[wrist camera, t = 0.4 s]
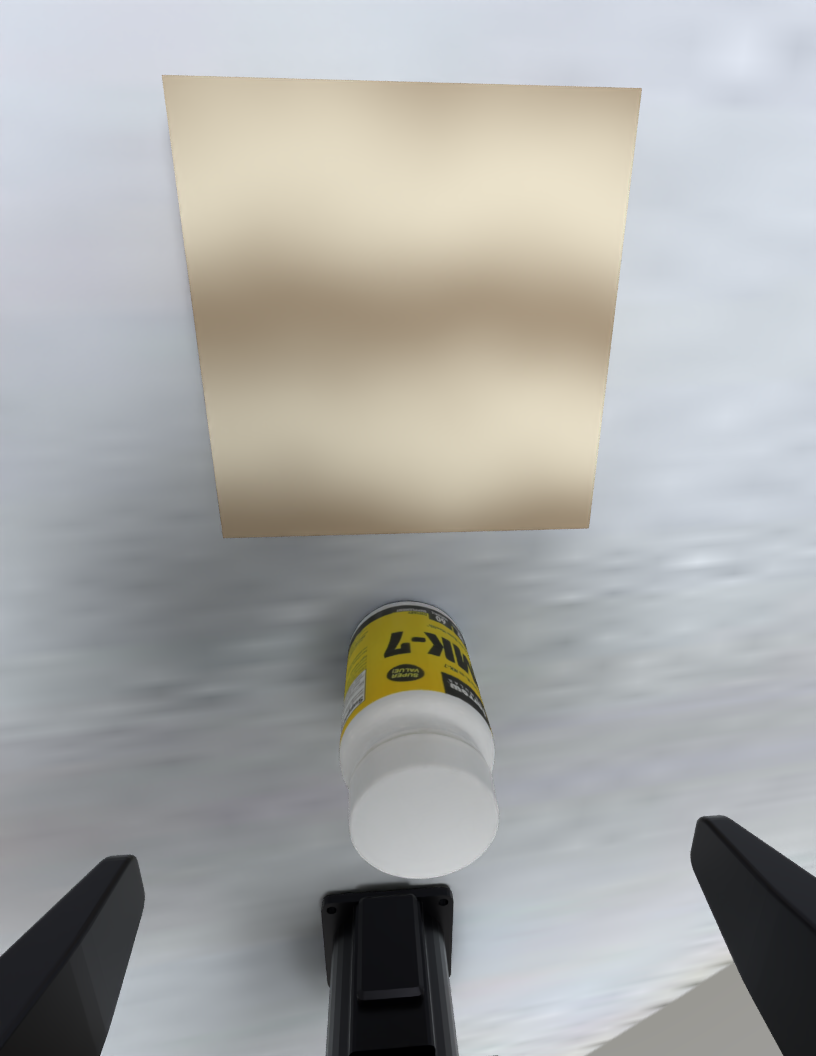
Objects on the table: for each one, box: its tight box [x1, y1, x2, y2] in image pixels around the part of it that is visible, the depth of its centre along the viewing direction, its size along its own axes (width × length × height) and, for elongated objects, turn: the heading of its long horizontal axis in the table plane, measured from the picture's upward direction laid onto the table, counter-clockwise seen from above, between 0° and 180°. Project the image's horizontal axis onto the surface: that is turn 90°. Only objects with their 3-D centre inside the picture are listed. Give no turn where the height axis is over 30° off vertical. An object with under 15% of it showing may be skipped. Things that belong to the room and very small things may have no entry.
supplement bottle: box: [339, 601, 499, 879], centre depth 17 cm, size 5×5×8 cm
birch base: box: [162, 75, 642, 538], centre depth 16 cm, size 12×12×2 cm
